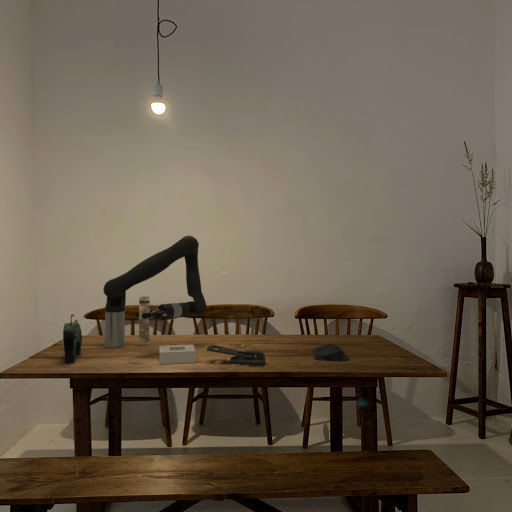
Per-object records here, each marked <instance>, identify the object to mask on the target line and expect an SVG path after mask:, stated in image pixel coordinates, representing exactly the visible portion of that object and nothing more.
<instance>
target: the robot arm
mask: <svg viewBox="0 0 512 512" xmlns="http://www.w3.org/2000/svg"><path fill="white" fill-rule="evenodd" d="M199 246H200V244H199V241H198V240H197V238H196V237H194V236H192V235H185V236H183V237H181V238H180V239H179V240H178V241H176V243H174V244H172V245H171V246H169V247H168V248H166V249H163V250H161V251H159V252H156V253H155V254H153V255H151V256H149V257H147V258H146V259H144V260H141V261H140V262H139V263H138V264H136V265H135V266H133V267H132V268H131V269H129V270H128V271H126V272H125V273H123V274H121V275H119V276H117V277H115V278H114V277H113V278H111V279H110V280H107V281H106V282H105V283H104V286H103V294H104V295H105V296H106V304H105V307H104V308H105V309H104V310H105V313H104V315H105V317H104V319H105V321H104V323H105V326H104V327H105V328H104V348H108V349H109V348H111V349H113V348H116V349H117V348H122V347H125V346H126V329H125V328H126V327H125V326H126V320H125V319H126V313H125V312H126V303H127V302H126V301H127V296H126V295H127V293H126V292H127V291H128V290H129V289H131V288H132V287H134V286H136V285H139V284H140V283H143V282H145V281H147V280H150V279H152V278H153V277H155V276H157V275H158V274H160V273H162V272H164V271H165V270H166V269H168V268H169V267H170V266H171V265H172V264H173V263H175V262H177V261H178V260H180V259H183V258H184V262H185V281H186V282H185V283H186V291H187V296H188V297H191V298H192V299H193V300H191V301H186V302H176V303H175V302H171V303H170V302H169V303H163V304H160V305H159V306H158V307H156V308H149V313H143V314H142V318H149V319H160V321H169V320H176V319H180V318H185V317H188V316H189V317H190V316H202V315H205V314H206V311H207V303H206V298H205V296H204V294H203V292H202V283H201V282H202V281H201V276H200V270H199ZM134 317H135V318H139V311H135V313H134Z"/></svg>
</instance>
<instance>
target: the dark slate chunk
mask: <svg viewBox="0 0 512 512" xmlns="http://www.w3.org/2000/svg"><path fill="white" fill-rule="evenodd" d="M312 352H313V358H314V360H316V361H319V362H320V361H325V362H326V361H327V362H344V360H345V361H346V360H348V361H349V360H350V357H349V356H348V355H347V353H345V351H344V350H343V349H342V348H341V347H340V346H339V345H335V344H331V343H328V344H324V345H322V346H318V347H315V348H313V349H312Z"/></svg>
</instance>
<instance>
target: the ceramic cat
mask: <svg viewBox="0 0 512 512" xmlns="http://www.w3.org/2000/svg"><path fill="white" fill-rule="evenodd" d="M74 317H75V314H72V313H71V315H70V322H67V323H64V324H63V330H62V336H63V337H62V340H63V350H64V363H65V364H67V365H68V364H69V365H70V363H72V364H75V362H76V355H78V356H81V354H82V350H81V349H82V342H83V332H82V328H81V327H82V326H81V325H80V323H78V320H77V319H75V320H74V321H72V318H74Z"/></svg>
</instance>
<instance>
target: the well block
mask: <svg viewBox="0 0 512 512" xmlns="http://www.w3.org/2000/svg"><path fill="white" fill-rule="evenodd" d="M196 351H197V350H196V348H195V344H179V345H178V344H177V345H176V344H174V345H159V365H175V364H178V363H180V364H195V363H197V362H196V360H197V359H196V357H197V356H196V355H197V354H196ZM178 365H179V364H178Z"/></svg>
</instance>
